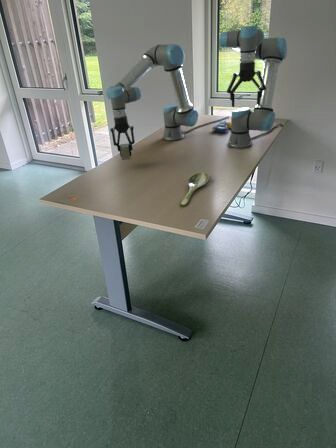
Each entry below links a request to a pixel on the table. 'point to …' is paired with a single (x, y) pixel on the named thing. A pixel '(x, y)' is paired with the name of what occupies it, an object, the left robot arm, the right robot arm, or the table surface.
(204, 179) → the spoon
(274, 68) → the right robot arm
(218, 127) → the spray gun
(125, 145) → the brick
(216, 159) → the table surface
